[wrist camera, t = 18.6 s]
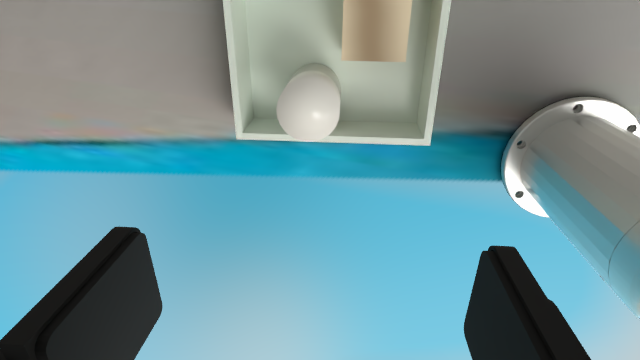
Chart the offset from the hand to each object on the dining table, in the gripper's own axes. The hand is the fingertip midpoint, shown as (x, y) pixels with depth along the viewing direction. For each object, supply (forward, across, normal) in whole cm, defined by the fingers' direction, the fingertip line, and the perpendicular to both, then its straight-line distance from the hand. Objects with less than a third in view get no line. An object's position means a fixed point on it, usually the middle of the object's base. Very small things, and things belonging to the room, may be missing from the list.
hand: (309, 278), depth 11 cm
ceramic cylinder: (+28, +2, +1) cm, 28 cm away
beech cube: (+28, -3, -5) cm, 28 cm away
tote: (+28, 0, -2) cm, 28 cm away
